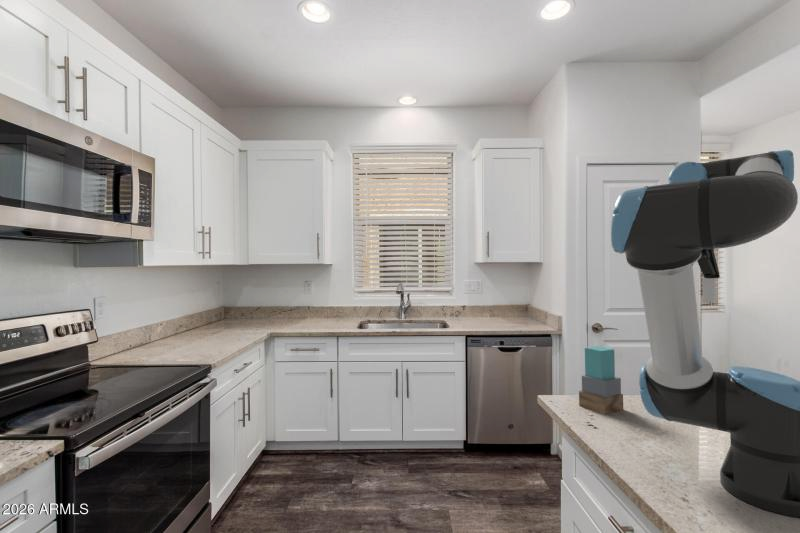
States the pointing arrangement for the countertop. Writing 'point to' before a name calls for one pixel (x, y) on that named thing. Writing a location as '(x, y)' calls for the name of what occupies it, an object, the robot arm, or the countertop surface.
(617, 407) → the walnut base
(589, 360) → the teal block
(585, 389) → the charcoal block
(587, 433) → the countertop surface
